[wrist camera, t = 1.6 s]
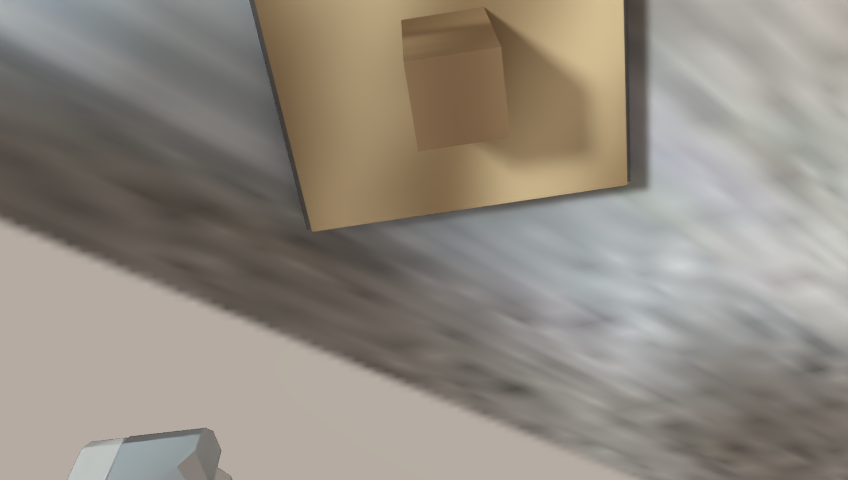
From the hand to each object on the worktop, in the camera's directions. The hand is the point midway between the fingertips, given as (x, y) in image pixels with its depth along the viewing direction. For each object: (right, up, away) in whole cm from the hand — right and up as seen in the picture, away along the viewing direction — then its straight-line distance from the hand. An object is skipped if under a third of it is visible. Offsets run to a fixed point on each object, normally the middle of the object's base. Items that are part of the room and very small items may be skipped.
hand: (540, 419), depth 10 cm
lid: (-1, +8, +14) cm, 16 cm away
